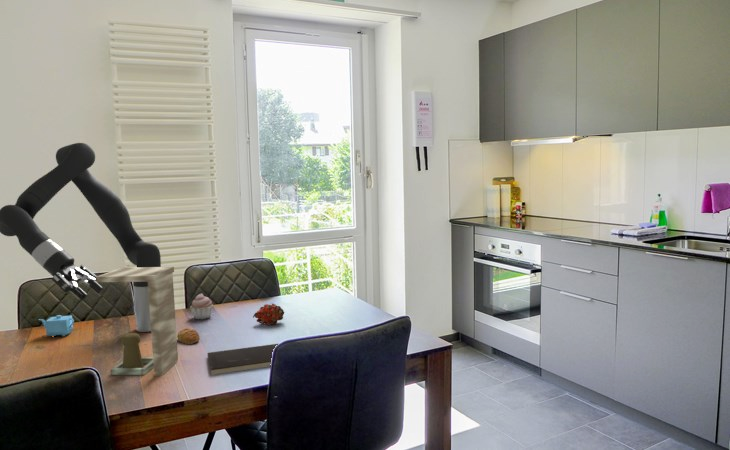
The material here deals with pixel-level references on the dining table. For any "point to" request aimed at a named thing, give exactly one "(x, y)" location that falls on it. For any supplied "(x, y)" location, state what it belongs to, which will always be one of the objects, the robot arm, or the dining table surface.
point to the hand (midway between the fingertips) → (93, 294)
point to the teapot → (58, 325)
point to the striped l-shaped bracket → (153, 316)
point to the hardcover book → (240, 359)
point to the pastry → (188, 336)
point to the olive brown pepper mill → (131, 351)
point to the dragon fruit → (269, 314)
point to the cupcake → (201, 307)
